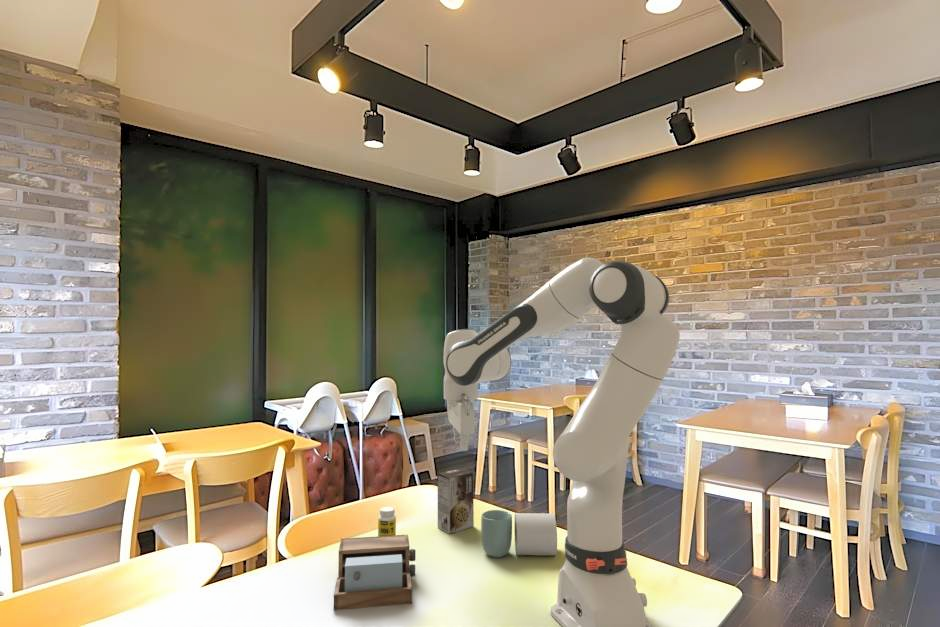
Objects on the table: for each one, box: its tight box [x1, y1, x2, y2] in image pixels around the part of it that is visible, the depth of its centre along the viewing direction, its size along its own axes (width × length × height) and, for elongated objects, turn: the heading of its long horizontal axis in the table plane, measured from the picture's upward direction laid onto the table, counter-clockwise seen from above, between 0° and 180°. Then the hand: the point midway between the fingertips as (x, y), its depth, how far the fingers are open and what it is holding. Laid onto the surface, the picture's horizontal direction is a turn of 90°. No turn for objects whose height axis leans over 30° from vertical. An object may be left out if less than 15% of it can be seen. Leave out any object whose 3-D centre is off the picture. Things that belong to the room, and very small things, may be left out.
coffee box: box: [437, 467, 475, 535], centre depth 151 cm, size 9×6×16 cm
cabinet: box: [333, 534, 416, 610], centre depth 115 cm, size 18×17×8 cm
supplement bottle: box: [377, 506, 397, 537], centre depth 141 cm, size 5×5×8 cm
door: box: [345, 554, 402, 592], centre depth 110 cm, size 5×12×8 cm, turn 100°
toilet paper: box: [513, 512, 558, 556], centre depth 133 cm, size 10×10×10 cm
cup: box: [480, 509, 513, 558], centre depth 132 cm, size 8×8×10 cm
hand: (460, 446), depth 131 cm, fingers open, 8 cm apart
